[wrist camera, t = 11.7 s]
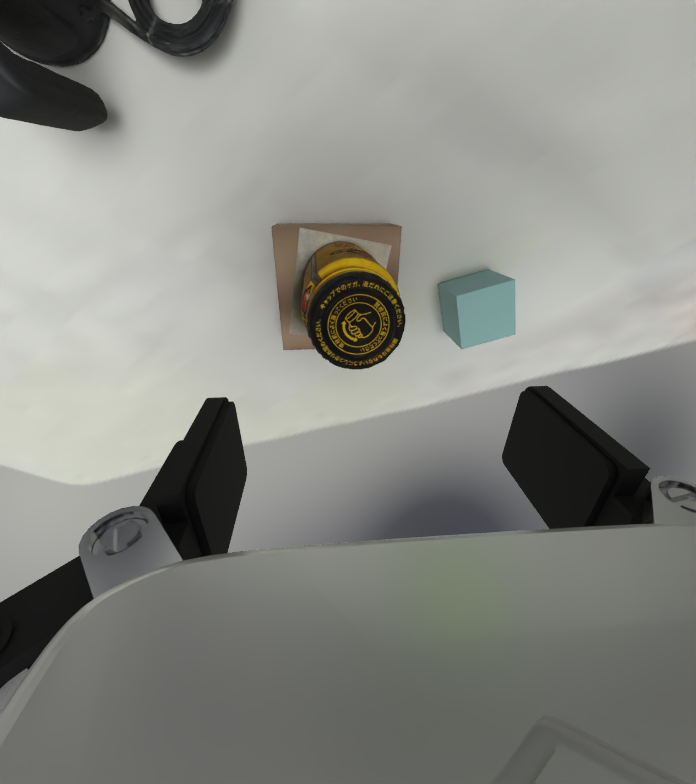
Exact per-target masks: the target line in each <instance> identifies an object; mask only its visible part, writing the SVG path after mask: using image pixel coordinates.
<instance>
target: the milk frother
mask: <svg viewBox="0 0 696 784" xmlns="http://www.w3.org/2000/svg"><path fill="white" fill-rule="evenodd" d="M128 1H129V4H130V6H131V9H132V11H133V13H134V16H135V18H136V21H134V20H132V19H131V18H130V17H129V16H128V15H126V14H125V13H124V12H123V11H122V10H120V9H119V8H118V7H117V6H115V5H114V4H113V3H111V2H110V0H0V117H3V118H7V119H13V120H19V121H24V122H29V123H34V124H39V125H44V126H50V127H55V128H61V129H67V130H72V131H82V130H87V129H90V128H93V127H95V126H97V125H99V124H102V123H103V122H104V121H105V120H106V119H107V111H106V108H105V105H104V103H103V101H102V100H101V98H100V97H99V95H98V94H97V93H96V92H94V91H93V90H92V89H90V88H88V87H86V86H84V85H82V84H80V83H78V82H76V81H73V80H71V79H69V78H67V77H64V76H62V75H59V74H57V73H55V72H53V71H51V70H49V69H47V68H45V67H43V66H41V65H38V64H36V63H34V62H32V61H28V60H25V59H23V58H21V57H19V56H17V55H16V54H14V53H12V52H11V51H10V50H9V49H8V48H7V47H6V46H4V45H3V43H4V44H5V45H7V46H8V47H10V48H11V49H13V50H14V51H16V52H17V53H19V54H21V55H22V56H24V57H26V58H29V59H30V60H33V61H36V62H39V63H42V64H46V65H51V66H67V65H71V64H76V63H79V62H82V61H84V60H85V59H86V58H88V57H89V56H91V55H92V54H93V53H94V52H95V51H96V49H97V48H98V46H99V45H100V43H101V41H102V40H103V38H104V35H105V31H106V29H107V26H108V20H109V17H111V18H112V19H114V20H116V21H117V22H119V23H120V24H121V25H123V26H124V27H125V28H127V29H128V30H129V31H130V32H132V33H134V34H135V35H137V36H138V37H140V38H141V39H143V40H144V41H146V42H147V43H149V44H151V45H153V46H154V47H156V48H158V49H160V50H162V51H164V52H166V53H168V54H171V55H173V56H182V57H183V56H192V55H195V54H198V53H200V52H203V51H204V50H205V49H207V48H208V47H209V46H210V45H211V44H212V43H213V42H214V41H215V40H216V39H217V38H218V36H219V35H220V33H221V31H222V30H223V27H224V25H225V23H226V20H227V17H228V15H229V12H230V9H231V6H232V1H233V0H202V1H203V2H202V5H201V8H200V10H199V11H198V13H197V14H196V15H195V16H194V17H193V18H192V19H191V20H189V21H188V22H187V23H183V24H172V23H167V22H165V21H163V20H161V19H160V18H159V17H157V16H156V15H155V14H154V12H153V10H152V8H151V6H150V3H149V0H128ZM1 41H2V42H3V43H2V42H1Z"/></svg>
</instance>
